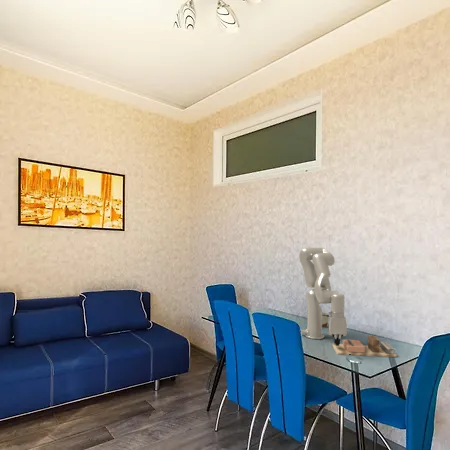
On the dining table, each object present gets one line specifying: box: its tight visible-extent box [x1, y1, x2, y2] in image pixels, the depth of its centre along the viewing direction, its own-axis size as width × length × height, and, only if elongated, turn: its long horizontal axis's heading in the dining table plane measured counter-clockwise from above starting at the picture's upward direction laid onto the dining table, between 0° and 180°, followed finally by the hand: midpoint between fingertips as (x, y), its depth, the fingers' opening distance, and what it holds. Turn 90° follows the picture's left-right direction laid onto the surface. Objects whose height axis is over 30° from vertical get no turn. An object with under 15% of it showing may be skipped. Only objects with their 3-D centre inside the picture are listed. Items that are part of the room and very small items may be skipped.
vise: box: [331, 341, 398, 358], centre depth 204 cm, size 33×14×4 cm, turn 85°
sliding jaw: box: [342, 338, 365, 353], centre depth 205 cm, size 10×12×4 cm
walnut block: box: [367, 335, 381, 352], centre depth 204 cm, size 4×8×7 cm, turn 175°
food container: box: [322, 311, 330, 329], centre depth 253 cm, size 12×6×10 cm, turn 84°
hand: (337, 344), depth 206 cm, fingers closed
